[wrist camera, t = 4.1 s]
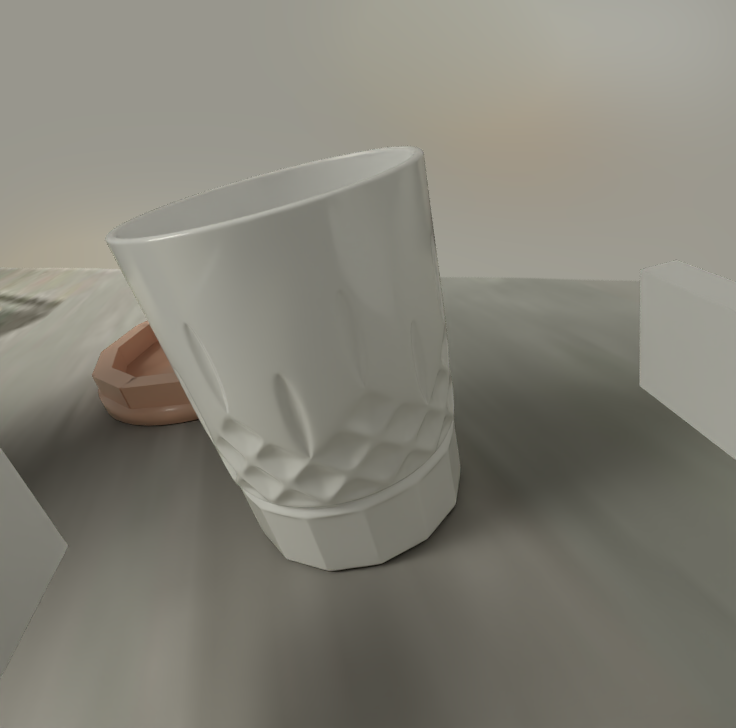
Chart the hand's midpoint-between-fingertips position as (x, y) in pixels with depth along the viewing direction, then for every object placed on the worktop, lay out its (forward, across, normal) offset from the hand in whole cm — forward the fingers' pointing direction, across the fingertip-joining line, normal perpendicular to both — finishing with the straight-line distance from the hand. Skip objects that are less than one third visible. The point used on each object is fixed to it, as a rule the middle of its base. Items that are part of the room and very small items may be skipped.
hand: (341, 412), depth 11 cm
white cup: (+4, 0, -6) cm, 8 cm away
